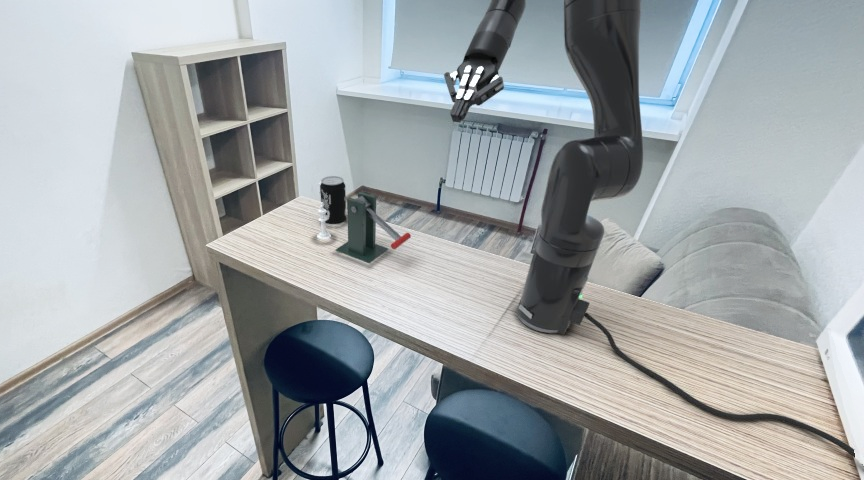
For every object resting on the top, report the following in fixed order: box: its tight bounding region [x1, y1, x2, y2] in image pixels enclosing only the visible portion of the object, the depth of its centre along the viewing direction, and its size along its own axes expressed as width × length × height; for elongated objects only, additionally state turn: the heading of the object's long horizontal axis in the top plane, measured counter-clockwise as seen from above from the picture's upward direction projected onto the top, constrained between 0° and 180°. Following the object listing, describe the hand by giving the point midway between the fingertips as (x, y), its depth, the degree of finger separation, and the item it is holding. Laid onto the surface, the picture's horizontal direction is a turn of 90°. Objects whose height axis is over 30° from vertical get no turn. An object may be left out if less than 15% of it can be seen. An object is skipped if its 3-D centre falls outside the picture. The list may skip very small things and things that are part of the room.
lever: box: [355, 196, 412, 250], centre depth 90 cm, size 14×6×2 cm, turn 53°
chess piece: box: [316, 201, 332, 240], centre depth 101 cm, size 5×5×10 cm
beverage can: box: [319, 175, 347, 225], centre depth 108 cm, size 7×7×12 cm
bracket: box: [334, 191, 389, 264], centre depth 94 cm, size 10×8×14 cm
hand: (455, 119), depth 82 cm, fingers closed
